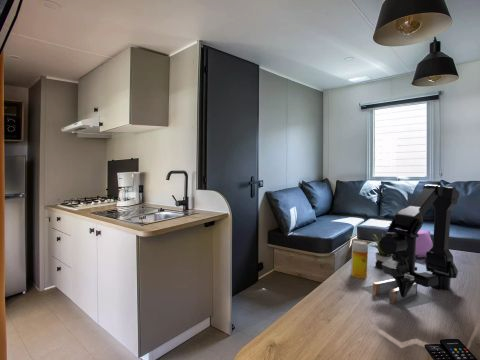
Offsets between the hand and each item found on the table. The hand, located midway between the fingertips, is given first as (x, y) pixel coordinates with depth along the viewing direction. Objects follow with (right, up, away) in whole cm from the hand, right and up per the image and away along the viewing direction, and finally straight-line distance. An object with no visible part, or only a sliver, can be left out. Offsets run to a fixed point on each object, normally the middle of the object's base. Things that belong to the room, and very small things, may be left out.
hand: (403, 296), depth 94 cm
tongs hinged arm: (+3, -2, +6) cm, 7 cm away
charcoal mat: (+2, -3, +7) cm, 8 cm away
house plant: (+12, -2, +34) cm, 36 cm away
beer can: (-5, -2, +24) cm, 25 cm away
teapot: (+37, -1, +56) cm, 67 cm away
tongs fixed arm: (-1, -2, +8) cm, 9 cm away
